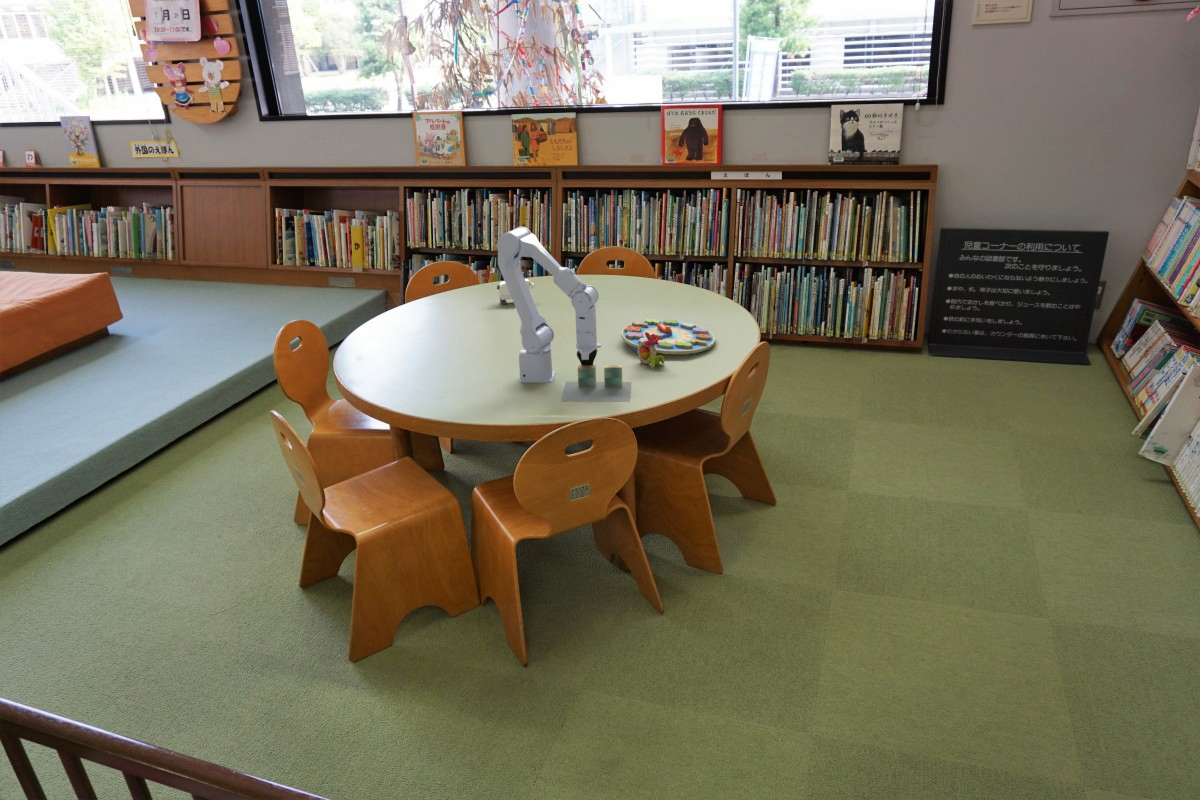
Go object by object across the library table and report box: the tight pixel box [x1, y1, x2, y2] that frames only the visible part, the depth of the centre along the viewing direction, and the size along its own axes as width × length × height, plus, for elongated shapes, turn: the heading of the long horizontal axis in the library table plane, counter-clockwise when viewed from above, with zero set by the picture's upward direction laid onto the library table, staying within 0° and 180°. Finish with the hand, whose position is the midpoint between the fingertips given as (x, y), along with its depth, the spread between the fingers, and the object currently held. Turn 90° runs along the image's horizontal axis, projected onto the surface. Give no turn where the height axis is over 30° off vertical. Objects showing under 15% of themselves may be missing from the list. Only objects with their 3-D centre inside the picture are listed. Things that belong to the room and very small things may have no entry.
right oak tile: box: [603, 364, 623, 387], centre depth 230 cm, size 5×2×6 cm, turn 86°
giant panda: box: [496, 278, 536, 306], centre depth 310 cm, size 15×6×10 cm, turn 103°
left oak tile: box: [577, 364, 597, 387], centre depth 230 cm, size 5×2×6 cm, turn 86°
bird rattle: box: [636, 332, 665, 369], centre depth 244 cm, size 6×11×9 cm
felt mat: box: [560, 381, 632, 403], centre depth 228 cm, size 19×14×1 cm
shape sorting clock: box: [620, 318, 716, 355], centre depth 264 cm, size 31×30×6 cm
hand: (587, 374), depth 233 cm, fingers closed
